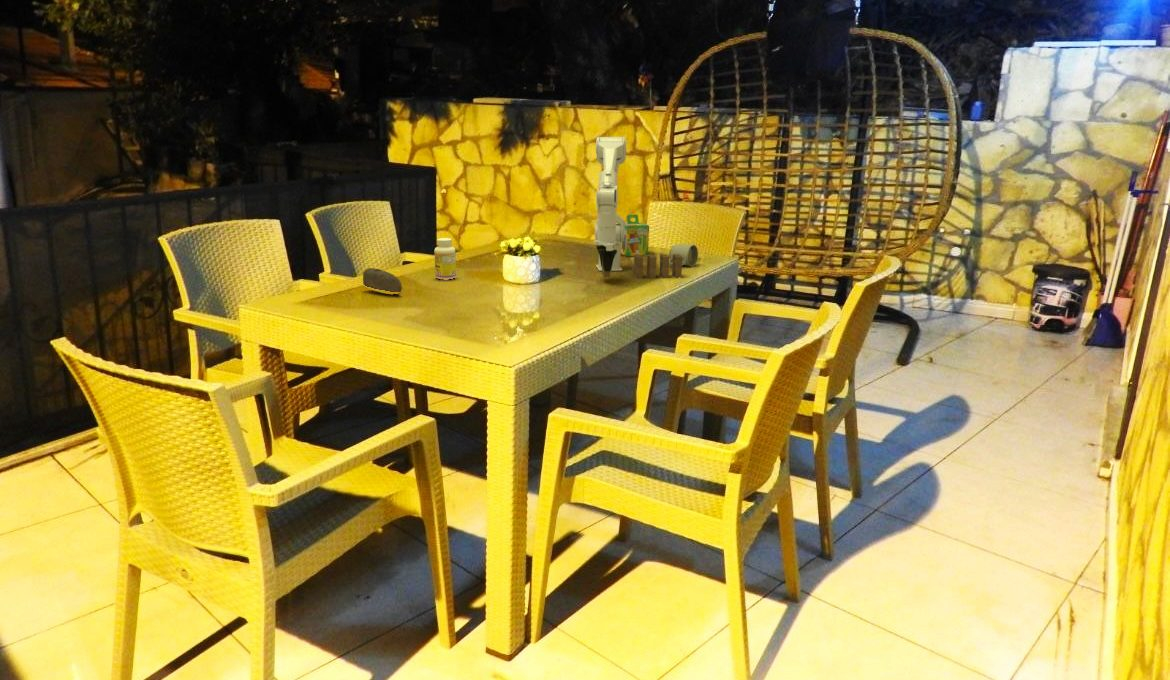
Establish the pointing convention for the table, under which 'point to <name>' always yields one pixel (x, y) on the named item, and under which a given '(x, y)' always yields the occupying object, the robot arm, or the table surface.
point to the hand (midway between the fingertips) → (606, 269)
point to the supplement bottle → (445, 259)
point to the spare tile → (605, 272)
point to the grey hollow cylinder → (684, 254)
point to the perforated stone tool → (381, 280)
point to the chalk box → (635, 238)
